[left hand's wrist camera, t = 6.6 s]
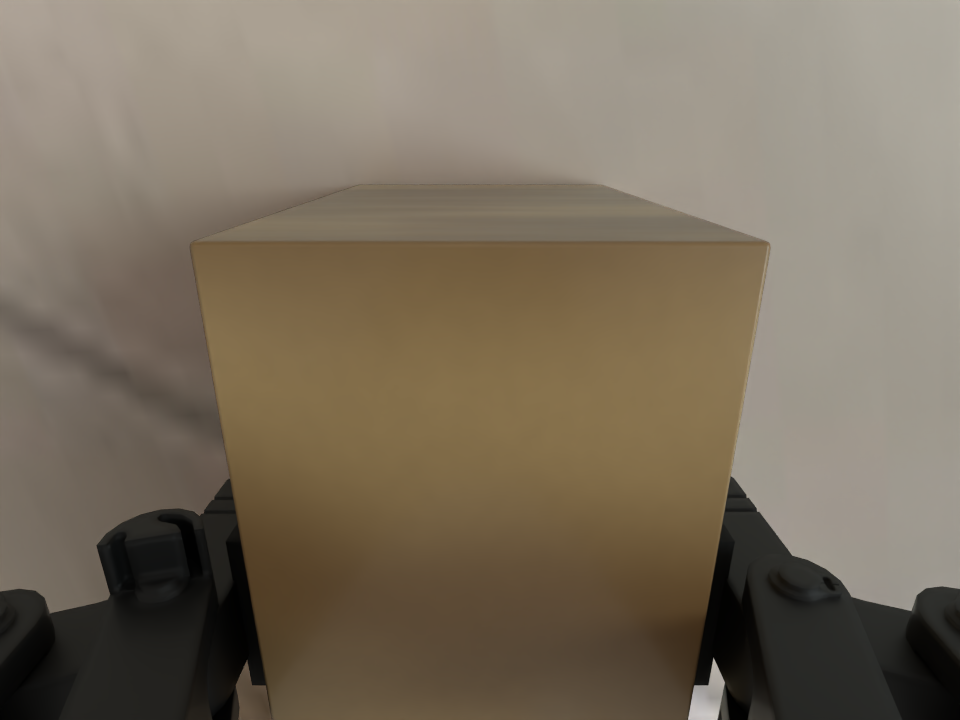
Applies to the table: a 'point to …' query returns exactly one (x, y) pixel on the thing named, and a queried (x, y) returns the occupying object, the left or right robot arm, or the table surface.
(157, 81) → the table surface
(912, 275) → the table surface
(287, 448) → the bar
